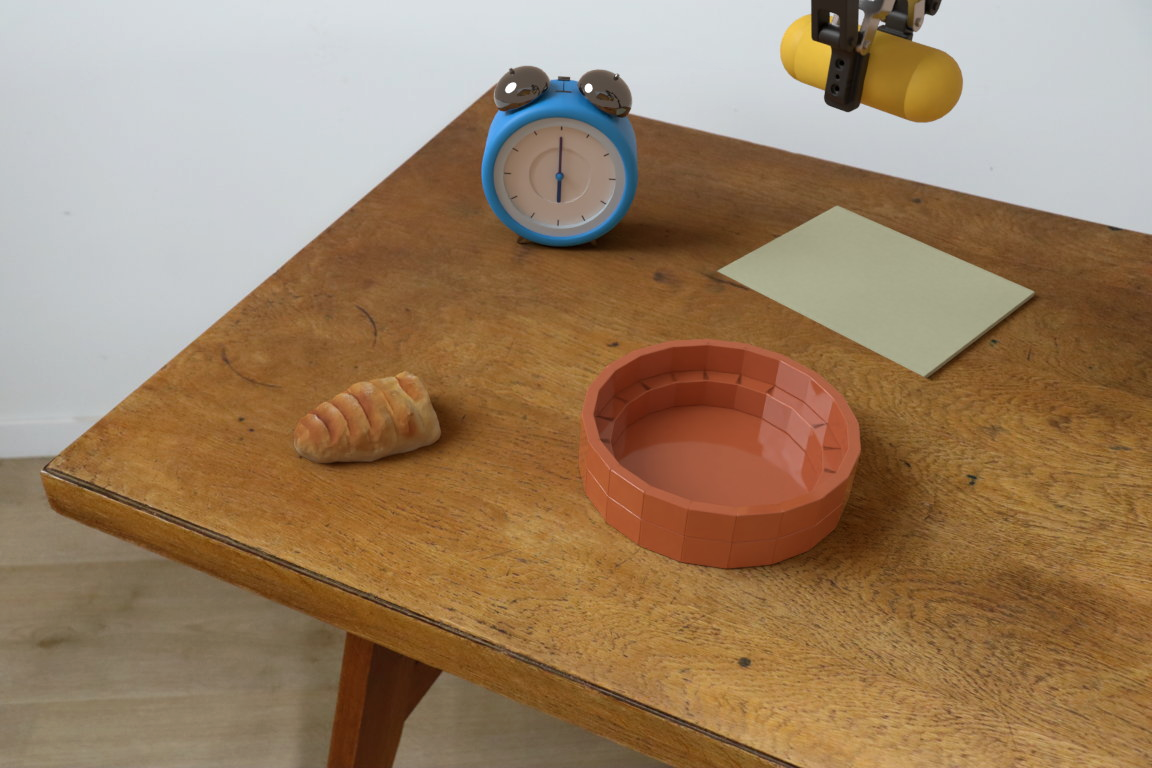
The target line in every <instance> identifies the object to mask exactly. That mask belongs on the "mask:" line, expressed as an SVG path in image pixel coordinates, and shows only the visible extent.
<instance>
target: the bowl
mask: <svg viewBox="0 0 1152 768" xmlns="http://www.w3.org/2000/svg"><path fill="white" fill-rule="evenodd" d="M581 409H582V410H581V414H580V428H579V429H580V430H579V446H578V463H577V465H578V470H579V474H580V478H581V482H582V488H583V491H584V494H585V495H586V497H587V499H588V500H589V501H590V502H591V504H592V505H593V507H594V508H595V509H596V511H597V512H598V513H599V515H600V516H601V517H602V518H603V520H604V521H605V522H606V523H607V525H609V526H611V527H612V528H613V529H615V530H616V531H618V532H619V533H621V534H622V535H624V537H626V538H628V539H629V540H630V541H631V542H633V543H634V544H636V545H637V546H639V547H641V548H644V549H646V550H649V551H652V552H654V553H656V554H659V555H662V556H664V557H666V558H669V559H671V560H675V561H677V562H680V563H684V564H685V563H686V564H691V565H698V566H704V567H711V568H717V569H718V568H719V569H726V570H727V569H738V568H740V569H741V568H750V567H760V566H771V565H775V564H778V563H780V562H783V561H785V560H788V559H791V558H793V557H796V556H799V555H802V554H805V553H807V552H809V551H811V550H812V549H813V548H815V546H817V545H818V544H819V543H820V542H821V541H823V540H824V539H825V538H827V536H829V535H830V534H832V532H833V531H834V530H836V528H837V527H838V524H839V522H840V520H841V518H842V515H843V514H844V511H845V509H846V507H847V505H848V502H849V500H850V499H849V498H850V495H851V491H852V487H853V483H854V479H855V476H856V471H857V469H858V465H859V461H860V457H861V452H862V445H861V432H860V423H859V421H858V419H857V417H856V416H855V413H854V412H853V410H852V409H851V407H850V404H849V403H848V402H847V400H846V398H845V396H844V395H843V394H842V393H841V392H840V391H838V390H837V389H836V388H835V387H834V386H833V385H832V384H831V383H829V382H828V381H827V379H826V378H824V377H823V376H822V375H821V374H820V373H818V372H816V371H814V370H813V369H811V368H809V367H808V366H805V365H803V364H802V363H800V362H798V361H796V360H794V359H793V358H791V357H788V356H787V355H785V354H783V353H779V352H775V351H773V350H769V349H767V348H763V347H759V346H757V345H754V344H750V343H746V342H738V341H731V340H723V339H714V338H696V339H693V338H692V339H678V340H668V341H663V342H660V343H656V344H652V345H649V346H644V347H642V348H637V349H633V350H632V351H630V352H628V353H626V354H625V355H622V356H621V357H619V358H618V359H616V360H614V361H612V362H611V363H609V364H607V365H606V366H605V367H604V368H603V369H602V371H601V372H600V373H599V374H598V375H597V377H595V379H594V380H593V381H592V383H590V385H589V386H588V387H587V389H586V393H585V397H584V401H583V405H582V408H581Z"/></svg>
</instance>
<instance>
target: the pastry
mask: <svg viewBox="0 0 1152 768" xmlns="http://www.w3.org/2000/svg"><path fill="white" fill-rule="evenodd" d="M441 435H442V431H441V426H440V422H439V419H438V416H437V412H436V411H435V409H434V407H433V404H432V401H431V397H430V394H429V392H428V390H427V388H426V387H425V384H424V383H423V381H422V380H421V378H420V377H419V376H418V375H415V374H414V373H412V372H410V371H408V370H404V371H402V372H400V373H398V374H396V375H395V376H387V377H383V378H373V379H370V380H368V381H367V380H366V381H359V382H356V383H353V384H351V385H350V386H349V387H348V388H347V389H345V390H344V391H342V392H339V393H338V394H337V395H335V396H334V397H333V398H331V399H330V400H326V401H324V402H322V403H320V404H319V405H318V406H317V407H315V408H313V409H311V410H310V411H309V412H308V413H307V414H305V415H304V416H303V417H301V418H299V420H298V423H297V425H296V427H295V430H294V435H293V440H294V441H293V444H294V448H295V450H296V452H297V453H298V454H299V455H300V456H302V457H303V458H305V459H307V460H309V461H310V462H313V463H318V464H333V463H337V462H338V463H339V462H340V463H352V462H359V463H360V462H361V463H362V462H363V463H365V462H367V463H369V462H374V461H377V460H381V459H383V458H387V457H389V456H393V455H398V454H405V453H409V452H412V451H415V450H417V449H420V448H422V447H427V446H432V445H433V444H435V443H436V442H437V441H438V440H439V439H440V437H441Z"/></svg>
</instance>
